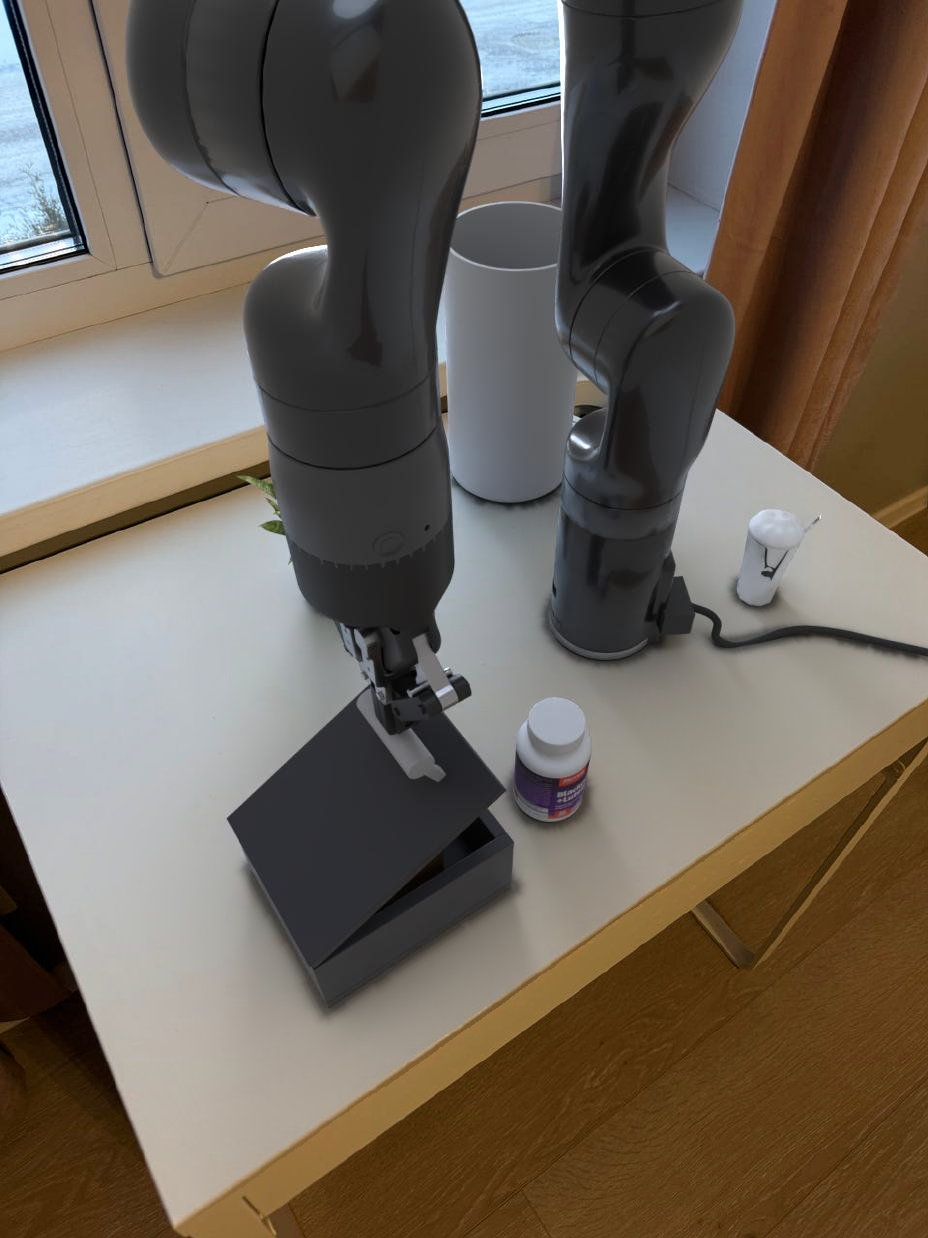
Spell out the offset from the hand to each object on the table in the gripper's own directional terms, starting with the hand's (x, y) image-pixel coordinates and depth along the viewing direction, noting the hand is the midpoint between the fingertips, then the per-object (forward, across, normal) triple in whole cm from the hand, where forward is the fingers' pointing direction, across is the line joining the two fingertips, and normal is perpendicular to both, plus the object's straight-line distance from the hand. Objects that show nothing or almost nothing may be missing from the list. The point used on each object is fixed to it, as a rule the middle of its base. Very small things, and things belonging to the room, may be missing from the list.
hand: (398, 719), depth 52 cm
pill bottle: (+18, -1, -11) cm, 21 cm away
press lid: (+7, 0, +3) cm, 8 cm away
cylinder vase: (+18, +32, -31) cm, 48 cm away
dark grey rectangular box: (+17, 0, +3) cm, 18 cm away
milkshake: (+18, +4, -40) cm, 44 cm away
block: (+16, 0, +2) cm, 17 cm away
